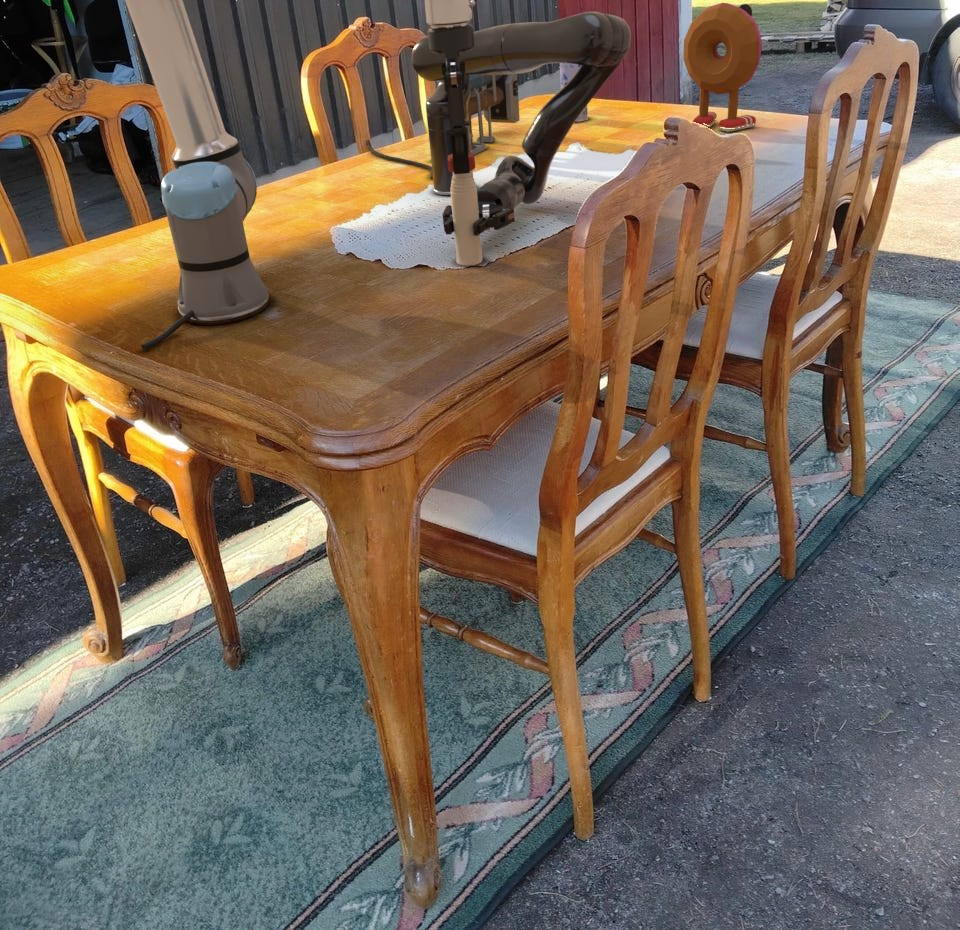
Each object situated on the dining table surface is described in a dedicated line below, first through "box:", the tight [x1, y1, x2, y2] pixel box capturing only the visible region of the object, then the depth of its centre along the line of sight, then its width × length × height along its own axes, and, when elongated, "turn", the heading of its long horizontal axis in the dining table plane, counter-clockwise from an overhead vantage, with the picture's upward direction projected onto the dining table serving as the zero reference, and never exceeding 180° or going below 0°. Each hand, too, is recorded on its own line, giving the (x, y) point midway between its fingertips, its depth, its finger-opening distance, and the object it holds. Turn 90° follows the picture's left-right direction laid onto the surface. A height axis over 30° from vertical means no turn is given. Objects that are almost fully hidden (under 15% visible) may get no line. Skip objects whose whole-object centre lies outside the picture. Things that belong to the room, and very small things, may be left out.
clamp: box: [468, 74, 521, 156], centre depth 252 cm, size 35×9×21 cm, turn 151°
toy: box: [682, 2, 763, 133], centre depth 248 cm, size 21×10×30 cm, turn 47°
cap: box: [448, 152, 476, 172], centre depth 169 cm, size 5×5×2 cm
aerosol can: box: [559, 63, 589, 123], centre depth 273 cm, size 8×8×20 cm
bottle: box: [450, 171, 483, 267], centre depth 173 cm, size 5×5×18 cm
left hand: (461, 169), depth 170 cm, fingers closed on cap, 4 cm apart
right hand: (461, 229), depth 173 cm, fingers closed on bottle, 4 cm apart
